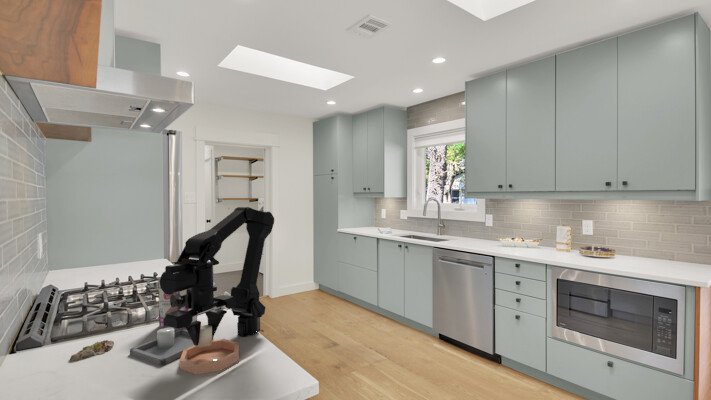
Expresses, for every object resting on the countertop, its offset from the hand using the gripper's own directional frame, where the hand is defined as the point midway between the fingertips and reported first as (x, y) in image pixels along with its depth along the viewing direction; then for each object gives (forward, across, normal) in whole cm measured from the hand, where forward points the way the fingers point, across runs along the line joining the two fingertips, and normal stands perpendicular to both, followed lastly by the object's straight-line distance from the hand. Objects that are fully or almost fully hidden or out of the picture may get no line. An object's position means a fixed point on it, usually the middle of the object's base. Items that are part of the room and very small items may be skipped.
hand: (203, 341), depth 95 cm
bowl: (+5, 0, +3) cm, 6 cm away
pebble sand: (+1, 0, 0) cm, 1 cm away
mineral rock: (+5, +12, -31) cm, 33 cm away
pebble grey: (+4, 0, -16) cm, 16 cm away
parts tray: (+5, 0, -13) cm, 14 cm away
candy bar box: (+5, -12, -27) cm, 30 cm away
